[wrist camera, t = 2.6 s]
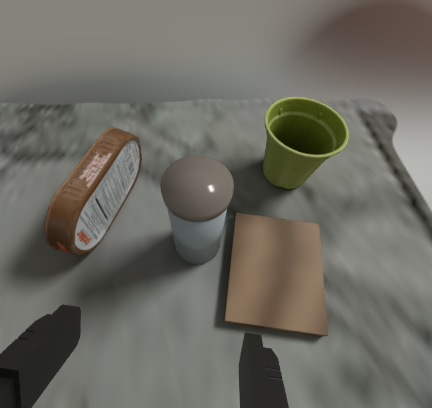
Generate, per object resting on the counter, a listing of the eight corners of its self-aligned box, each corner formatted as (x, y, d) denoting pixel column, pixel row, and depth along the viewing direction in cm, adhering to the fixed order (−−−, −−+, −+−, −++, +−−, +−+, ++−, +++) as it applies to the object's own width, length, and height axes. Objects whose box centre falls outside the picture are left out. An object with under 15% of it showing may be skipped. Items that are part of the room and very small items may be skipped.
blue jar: (168, 262, 29) (152, 210, 18) (178, 217, 32) (169, 151, 21) (218, 269, 29) (230, 221, 18) (224, 224, 32) (236, 160, 21)
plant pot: (288, 138, 40) (309, 87, 32) (331, 182, 36) (367, 136, 28) (238, 161, 37) (248, 111, 29) (279, 211, 33) (303, 169, 26)
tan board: (224, 321, 26) (225, 320, 25) (234, 217, 32) (236, 212, 31) (322, 336, 26) (328, 335, 25) (315, 228, 32) (318, 224, 31)
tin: (129, 159, 36) (112, 109, 29) (150, 165, 36) (138, 116, 28) (66, 260, 28) (21, 227, 21) (92, 268, 28) (56, 238, 21)
